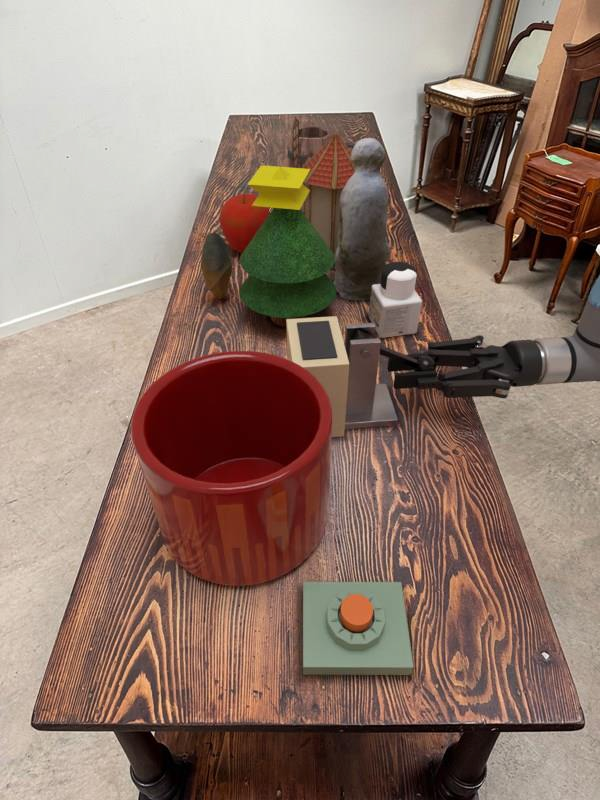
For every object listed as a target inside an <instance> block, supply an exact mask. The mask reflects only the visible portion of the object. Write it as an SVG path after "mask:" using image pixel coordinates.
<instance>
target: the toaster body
mask: <svg viewBox="0 0 600 800" xmlns="http://www.w3.org/2000/svg"><path fill="white" fill-rule="evenodd" d="M286 359H288V360H290V361H292V362H294V363H296V364H298V365H300V366H301V367H303V368H304V369H306V370H307V371H309V372H310V373H311V374H312V375H313V376H314V377H315V378H316V379H317V380H318V381H319V382H320V383H321V385H322V386H323V387H324V389H325V391H326V393H327V395H328V397H329V400H330V404H331V408H332V438H342V437H345V431H346V429H345V417H346V404H347V390H348V377H349V360H348V357H347V353H346V349H345V341H344V338H343V334H342V331H341V326H340V322H339V320H338V316H336V315H335V316H333V315H332V316H320V317H319V316H318V317H316V316H315V317H306V318H299V319H286Z"/></svg>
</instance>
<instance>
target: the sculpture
mask: <svg viewBox="0 0 600 800" xmlns="http://www.w3.org/2000/svg"><path fill="white" fill-rule="evenodd" d="M354 144H355V146H354V148H352V150H351V151H352V153H351V162H352V163H353V164H354V167H355V172H354V174H353V175H352V177H351V178H350V179H349V180H348V182H347V183H346V185H345V187H344V189H343V191H342V193H341V196H340V205H339V211H340V214H339V216H340V224H339V229H338V235H337V236H338V243H337V249H336V254H335V266H336V267H335V269H334V270H335V272H334V280H333V283H334V284H335V286H336V293H338V295H339V297H340V298H342V299H344V300H349V301H356V302H357V301H370V298H371V288H372V285H375V284H380V283H381V274H382V268H383V267H384V266H385V265H387V260H388V258H389V256H390V253H391V250H390V248H389V243H388V238H387V225H388V223H387V222H388V208H389V201H390V200H389V192H388V191H389V190H388V188H387V184H386V182H385V180H384V178H383V177H382V175H381V168H382V167H383V165H384V162H385V160H386V157H387V156H386V154H387V153H386V150H385V148H384V147H383V145H382V144H381V143H380V142H379V140H377V139H376V138H373V137H366V138H361V139H359V140H358V141H356V143H354Z"/></svg>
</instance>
